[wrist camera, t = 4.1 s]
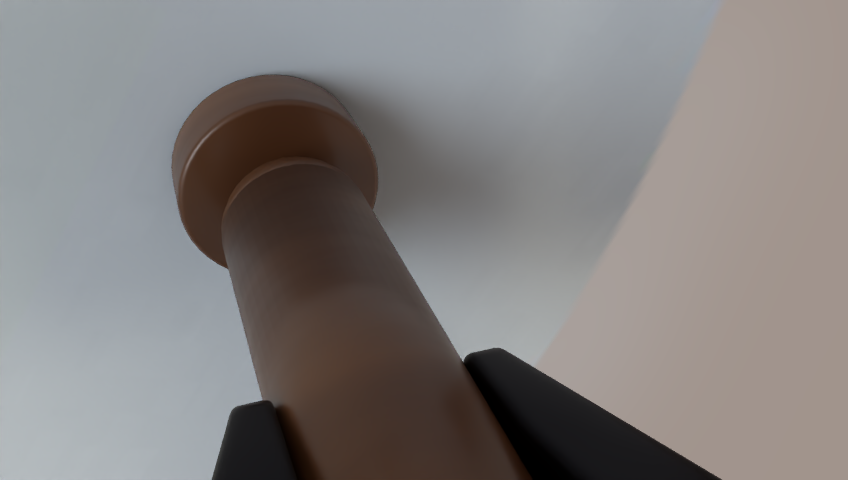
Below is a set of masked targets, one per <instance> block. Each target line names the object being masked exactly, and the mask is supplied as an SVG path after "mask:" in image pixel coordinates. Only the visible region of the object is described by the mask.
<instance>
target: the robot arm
mask: <svg viewBox="0 0 848 480" xmlns="http://www.w3.org/2000/svg"><path fill="white" fill-rule="evenodd" d="M463 363H464V365H465V366H466V368H467V370H468V371H469V373H470V375H471V376H472V378H473V380H474V382H475V383H476V385H477V387H478V388H479V390H480V392H481V393H482V395H483V397H484V398H485V400H486V402H487V403H488V405H489V407H490V408H491V410H492V412H493V413H494V415H495V417H496V418H497V420H498V422H499V423H500V425H501V427H502V428H503V430H504V432H505V434H506V435H507V437H508V439H509V440H510V442H511V444H512V445H513V447H514V449H515V450H516V452H517V454H518V455H519V457H520V459H521V460H522V462H523V464H524V465H525V467H526V469H527V470H528V472H529V474H530V475H531V477H532V479H533V480H722V479H720V478H718V477H717V476H715V475H713V474H712V473H710V472H708V471H707V470H705V469H703V468H701V467H700V466H698V465H696V464H695V463H693V462H692V461H690V460H688V459H686V458H685V457H683V456H681V455H680V454H678V453H676V452H675V451H673V450H671V449H669V448H668V447H666V446H665V445H663V444H661V443H660V442H658V441H656V440H655V439H653V438H651V437H650V436H648V435H646V434H645V433H643V432H641V431H640V430H638V429H636V428H635V427H633V426H631V425H630V424H628V423H626V422H624V421H623V420H621V419H619V418H618V417H616V416H614V415H613V414H611V413H609V412H608V411H606V410H604V409H603V408H601V407H599V406H598V405H596V404H594V403H593V402H591V401H589V400H587V399H586V398H584V397H582V396H581V395H579V394H577V393H576V392H574V391H573V390H571V389H569V388H568V387H566V386H564V385H563V384H561V383H559V382H558V381H556V380H554V379H552V378H551V377H549V376H547V375H546V374H544V373H542V372H541V371H539V370H537V369H536V368H534V367H532V366H531V365H529V364H527V363H526V362H524V361H522V360H521V359H519V358H517V357H516V356H514V355H512V354H511V353H509V352H507V351H505V350H503V349H501V348H492V349H487V350H483V351H478V352H474V353H470V354H469V355H467V356H466V357H465V359H464V362H463ZM212 480H297V477H296V473H295V470H294V467H293V464H292V461H291V458H290V454H289V451H288V448H287V445H286V442H285V439H284V436H283V432H282V429H281V426H280V423H279V420H278V417H277V414H276V411H275V408H274V405H273V403H272V402H271V401H269V400H262V401H258V402H254V403H249V404H245V405H241V406H237V407H235V408H234V409H233V410H232V411H231V413H230V416H229V420H228V423H227V427H226V430H225V434H224V438H223V441H222V445H221V448H220V452H219V456H218V459H217V463H216V466H215V470H214V473H213V477H212Z"/></svg>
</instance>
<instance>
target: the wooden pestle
mask: <svg viewBox="0 0 848 480" xmlns="http://www.w3.org/2000/svg"><path fill="white" fill-rule="evenodd" d="M172 177H173V183H174V188H175V194H176V199H177V204H178V209H179V213H180V217H181V221H182V223H183V225H184V228H185V230H186V232H187V234H188V235H189V237H190V238H191V240H192V241H193V243H194V244H195V245H196V246H197V247H198V248H199V250H200V251H202V252H203V253H204V254H205V255H206V256H207V257H208V258H210V259H211V260H213V261H214V262H216V263H217V264H219V265H221V266H223V267H225V268H227V269H229V273H230V277H231V281H232V285H233V289H234V292H235V296H236V300H237V304H238V308H239V312H240V315H241V319H242V323H243V327H244V331H245V335H246V338H247V342H248V346H249V350H250V354H251V358H252V361H253V365H254V369H255V373H256V377H257V381H258V384H259V388H260V392H261V396H262V400H269V401H271V402H272V403H273V405H274V408H275V411H276V414H277V417H278V420H279V423H280V426H281V429H282V432H283V436H284V439H285V442H286V445H287V448H288V451H289V454H290V458H291V461H292V464H293V467H294V470H295V473H296V477H297V480H533V479H532V477H531V475H530V474H529V472H528V470H527V469H526V467H525V465H524V464H523V462H522V460H521V459H520V457H519V455H518V454H517V452H516V450H515V449H514V447H513V445H512V444H511V442H510V440H509V439H508V437H507V435H506V434H505V432H504V430H503V428H502V427H501V425H500V423H499V422H498V420H497V418H496V417H495V415H494V413H493V412H492V410H491V408H490V407H489V405H488V403H487V402H486V400H485V398H484V397H483V395H482V393H481V392H480V390H479V388H478V387H477V385H476V383H475V382H474V380H473V378H472V376H471V375H470V373H469V371H468V370H467V368H466V366H465V365H464V363H463V361H462V360H461V358H460V356H459V355H458V353H457V351H456V350H455V348H454V346H453V345H452V343H451V341H450V340H449V338H448V336H447V335H446V333H445V331H444V330H443V328H442V326H441V324H440V323H439V321H438V319H437V318H436V316H435V314H434V313H433V311H432V309H431V308H430V306H429V304H428V303H427V301H426V299H425V298H424V296H423V294H422V293H421V291H420V289H419V288H418V286H417V284H416V283H415V281H414V279H413V277H412V276H411V274H410V272H409V271H408V269H407V267H406V266H405V264H404V262H403V261H402V259H401V257H400V256H399V254H398V252H397V251H396V249H395V247H394V246H393V244H392V242H391V241H390V239H389V237H388V236H387V234H386V232H385V231H384V229H383V227H382V225H381V224H380V222H379V220H378V219H377V217H376V215H375V214H374V212H373V207H374V204H375V200H376V195H377V189H378V171H377V165H376V160H375V157H374V154H373V151H372V149H371V146H370V145H369V143H368V141H367V139H366V138H365V136H364V135H363V133H362V132H361V130H360V129H359V127H358V126H357V124H356V123H355V122H354V120H353V119H352V117H351V116H350V114H349V113H348V111H347V110H346V109H345V108H344V106H343V105H342V104H341V103H340V102H339V101H338V100H337V99H336V98H335V97H334V96H333V95H331V94H330V93H329V92H327V91H326V90H324V89H323V88H321V87H319V86H317V85H315V84H313V83H311V82H308V81H306V80H303V79H300V78H295V77H291V76H283V75H261V76H255V77H249V78H245V79H242V80H239V81H235V82H233V83H231V84H229V85H226V86H224V87H222V88H221V89H219V90H217V91H216V92H214V93H212V94H211V95H210V96H208V97H207V98H206V99H205V100H203V101H202V102H201V103H200V104H199V105H198V106H197V107H196V108H195V109H194V110H193V111H192V113H191V114H190V115H189V117H188V118H187V119H186V121H185V122H184V124H183V126H182V128H181V130H180V131H179V134H178V136H177V139H176V142H175V145H174V150H173V155H172Z"/></svg>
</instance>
